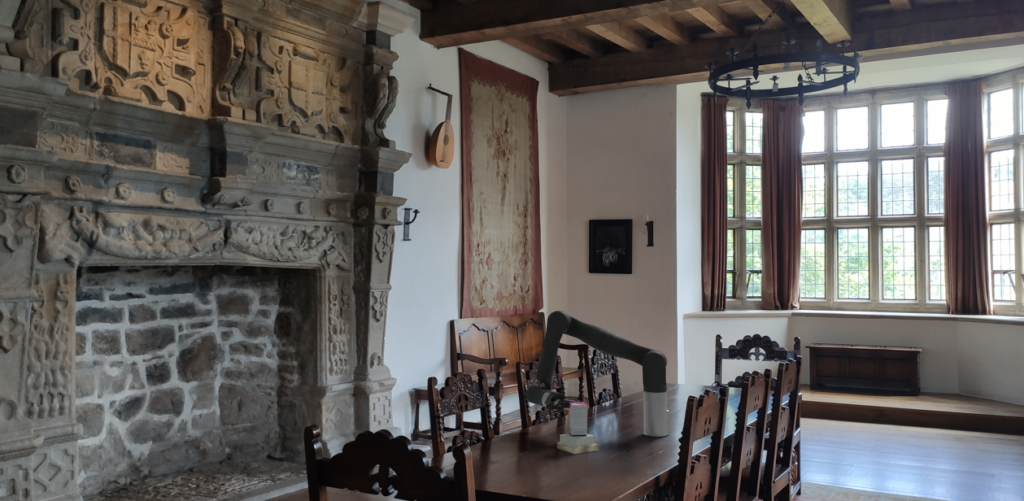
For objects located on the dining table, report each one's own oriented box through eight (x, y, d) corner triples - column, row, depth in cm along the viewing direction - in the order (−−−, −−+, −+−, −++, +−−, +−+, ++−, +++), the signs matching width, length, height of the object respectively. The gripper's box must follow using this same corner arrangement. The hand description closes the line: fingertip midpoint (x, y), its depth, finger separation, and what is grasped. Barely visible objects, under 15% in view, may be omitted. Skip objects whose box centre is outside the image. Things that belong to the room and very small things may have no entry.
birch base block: (581, 446, 288) (581, 438, 288) (599, 452, 279) (599, 444, 279) (557, 450, 283) (557, 442, 283) (574, 456, 273) (574, 447, 273)
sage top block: (577, 439, 287) (577, 431, 287) (595, 443, 280) (595, 435, 280) (560, 443, 281) (560, 434, 281) (577, 447, 274) (577, 438, 274)
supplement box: (587, 436, 279) (587, 404, 279) (571, 436, 278) (571, 404, 278) (584, 433, 284) (584, 401, 285) (568, 433, 284) (568, 402, 284)
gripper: (537, 392, 300) (553, 398, 285) (570, 390, 305) (588, 396, 290) (537, 412, 300) (553, 419, 284) (570, 409, 304) (588, 416, 289)
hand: (571, 407), depth 287 cm, fingers open, 8 cm apart
